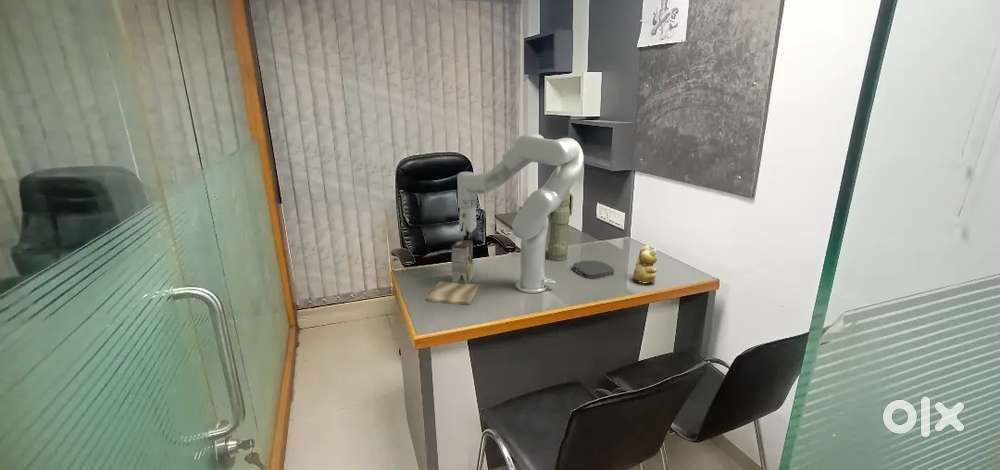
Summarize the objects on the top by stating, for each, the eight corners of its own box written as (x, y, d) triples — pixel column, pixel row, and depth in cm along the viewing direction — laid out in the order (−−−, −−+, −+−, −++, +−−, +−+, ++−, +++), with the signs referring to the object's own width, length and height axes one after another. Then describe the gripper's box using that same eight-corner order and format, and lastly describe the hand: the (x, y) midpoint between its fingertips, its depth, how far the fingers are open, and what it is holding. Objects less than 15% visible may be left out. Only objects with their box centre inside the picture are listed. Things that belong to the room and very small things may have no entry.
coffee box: (458, 275, 190) (457, 239, 185) (473, 277, 189) (473, 240, 184) (451, 284, 182) (451, 246, 177) (467, 286, 180) (467, 247, 176)
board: (479, 287, 179) (479, 285, 179) (469, 305, 164) (469, 302, 164) (439, 283, 182) (439, 281, 182) (426, 300, 167) (426, 298, 167)
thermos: (573, 259, 212) (578, 184, 201) (552, 263, 206) (556, 186, 196) (562, 253, 219) (566, 180, 209) (541, 256, 214) (544, 182, 203)
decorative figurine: (659, 284, 185) (663, 248, 181) (644, 288, 181) (649, 252, 177) (640, 276, 193) (644, 242, 189) (626, 279, 189) (630, 245, 185)
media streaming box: (617, 275, 194) (618, 269, 193) (589, 281, 188) (589, 274, 187) (596, 264, 207) (596, 258, 206) (569, 269, 201) (569, 262, 200)
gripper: (471, 207, 176) (471, 253, 182) (480, 199, 190) (480, 241, 196) (452, 206, 178) (453, 251, 183) (463, 198, 192) (463, 240, 197)
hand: (467, 246), depth 189 cm, fingers closed
